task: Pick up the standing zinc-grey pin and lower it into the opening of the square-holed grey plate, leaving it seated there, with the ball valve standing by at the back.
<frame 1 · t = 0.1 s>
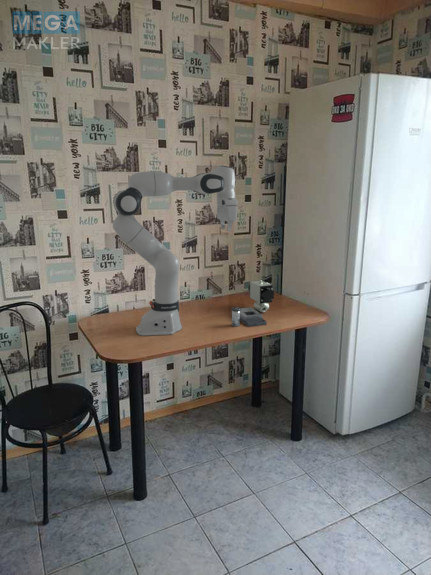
hand: (226, 229, 204), 48 cm above the table, tool pointing down, fingers open, 8 cm apart
pin: (235, 325, 211), on the table
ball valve: (261, 311, 235), on the table
square-holed grey plate: (249, 319, 219), on the table
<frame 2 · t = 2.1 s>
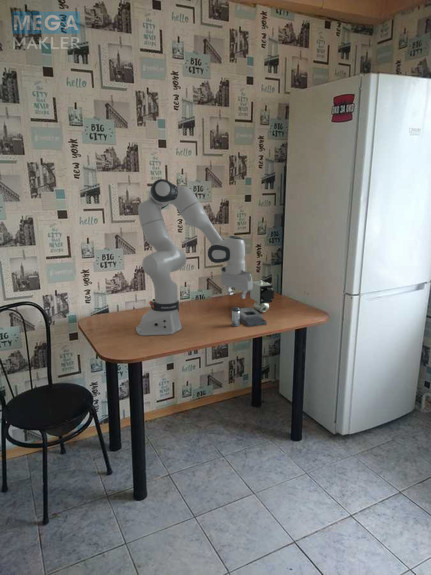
hand: (236, 296, 207), 15 cm above the table, tool pointing down, fingers open, 8 cm apart
nothing on the table moved.
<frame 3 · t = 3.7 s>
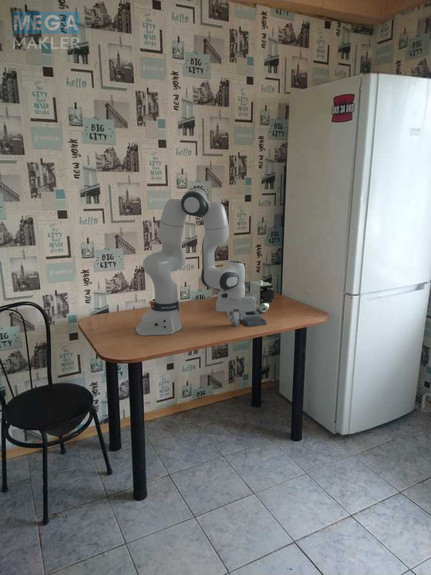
hand: (235, 319, 210), 3 cm above the table, tool pointing down, fingers closed on pin, 4 cm apart
pin: (235, 325, 211), on the table, touching gripper
everything else where it was.
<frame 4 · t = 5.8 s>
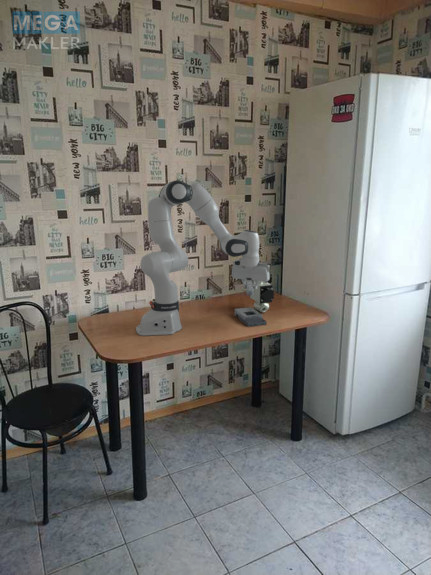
hand: (250, 288, 215), 17 cm above the table, tool pointing down, fingers closed on pin, 4 cm apart
pin: (250, 294, 216), point 14 cm above the table, touching gripper
everything else where it was.
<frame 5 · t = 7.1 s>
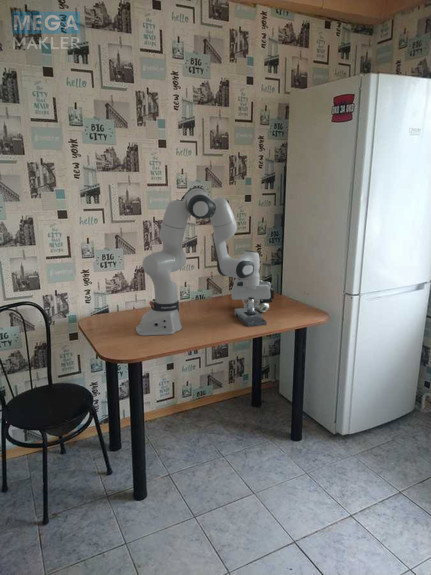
hand: (250, 307, 217), 7 cm above the table, tool pointing down, fingers closed on pin, 4 cm apart
pin: (250, 313, 218), point 4 cm above the table, touching gripper
everything else where it was.
when the fingers open (5 cm above the table, at t = 7.9 s): pin drops 1 cm, resting in square-holed grey plate.
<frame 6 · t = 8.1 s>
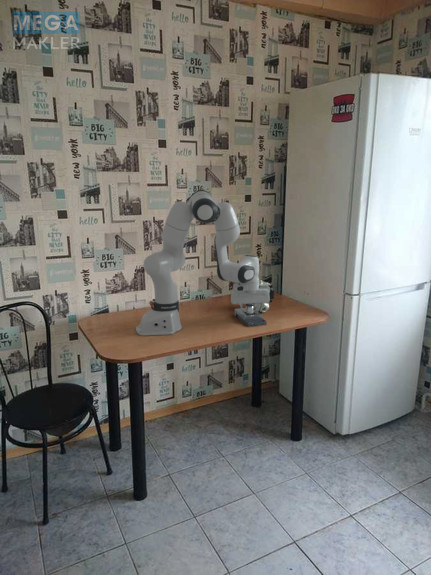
hand: (250, 311, 218), 5 cm above the table, tool pointing down, fingers open, 6 cm apart
pin: (249, 319, 219), resting in square-holed grey plate
everything else where it was.
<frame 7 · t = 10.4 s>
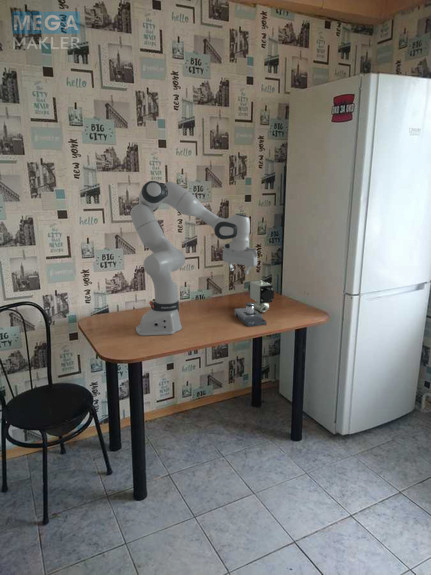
hand: (239, 272, 216), 25 cm above the table, tool pointing down, fingers open, 8 cm apart
nothing on the table moved.
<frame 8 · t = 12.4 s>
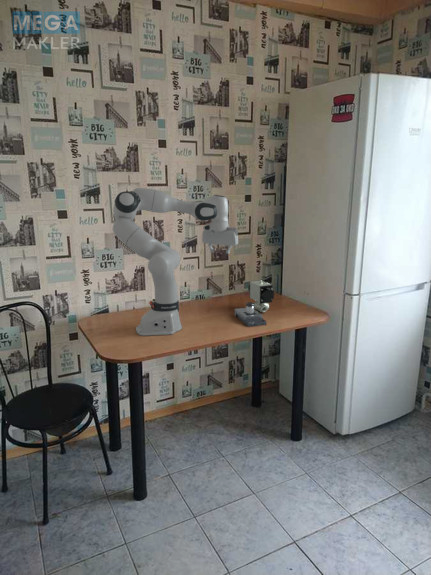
hand: (220, 252, 221), 34 cm above the table, tool pointing down, fingers open, 8 cm apart
nothing on the table moved.
at the end: pin 0.2 cm from the target spot, resting in square-holed grey plate; pin tilted 0°; the gripper is holding nothing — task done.
